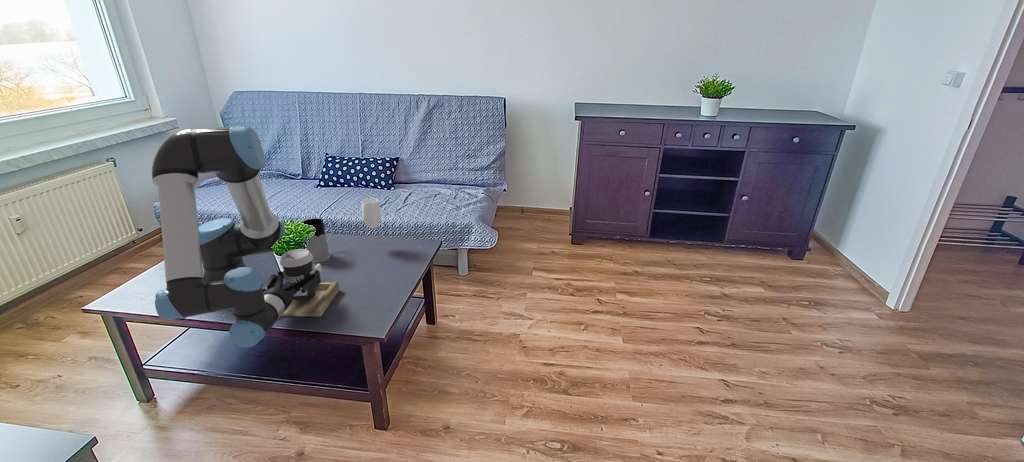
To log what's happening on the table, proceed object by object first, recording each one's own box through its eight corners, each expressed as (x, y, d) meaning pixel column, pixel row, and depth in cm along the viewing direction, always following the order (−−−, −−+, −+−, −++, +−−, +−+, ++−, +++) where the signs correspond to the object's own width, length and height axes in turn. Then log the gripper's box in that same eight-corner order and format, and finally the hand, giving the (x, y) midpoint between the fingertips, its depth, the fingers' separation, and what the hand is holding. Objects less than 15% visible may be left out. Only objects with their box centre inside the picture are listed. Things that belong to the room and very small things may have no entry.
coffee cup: (288, 292, 151) (278, 251, 146) (319, 286, 155) (311, 245, 149) (288, 306, 143) (278, 263, 138) (321, 299, 147) (312, 257, 141)
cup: (380, 253, 184) (375, 204, 176) (363, 252, 185) (357, 203, 177) (387, 245, 191) (382, 198, 183) (371, 244, 192) (365, 197, 183)
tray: (269, 315, 143) (267, 306, 142) (292, 289, 158) (290, 280, 156) (320, 316, 143) (318, 307, 141) (339, 290, 157) (337, 281, 156)
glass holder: (301, 260, 178) (294, 224, 172) (327, 246, 190) (322, 212, 184) (319, 264, 175) (312, 228, 169) (344, 249, 187) (339, 215, 181)
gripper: (239, 315, 131) (278, 276, 152) (310, 316, 131) (339, 277, 152) (233, 292, 128) (273, 256, 149) (306, 293, 128) (336, 257, 149)
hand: (306, 267), depth 151 cm, fingers closed on coffee cup, 8 cm apart
